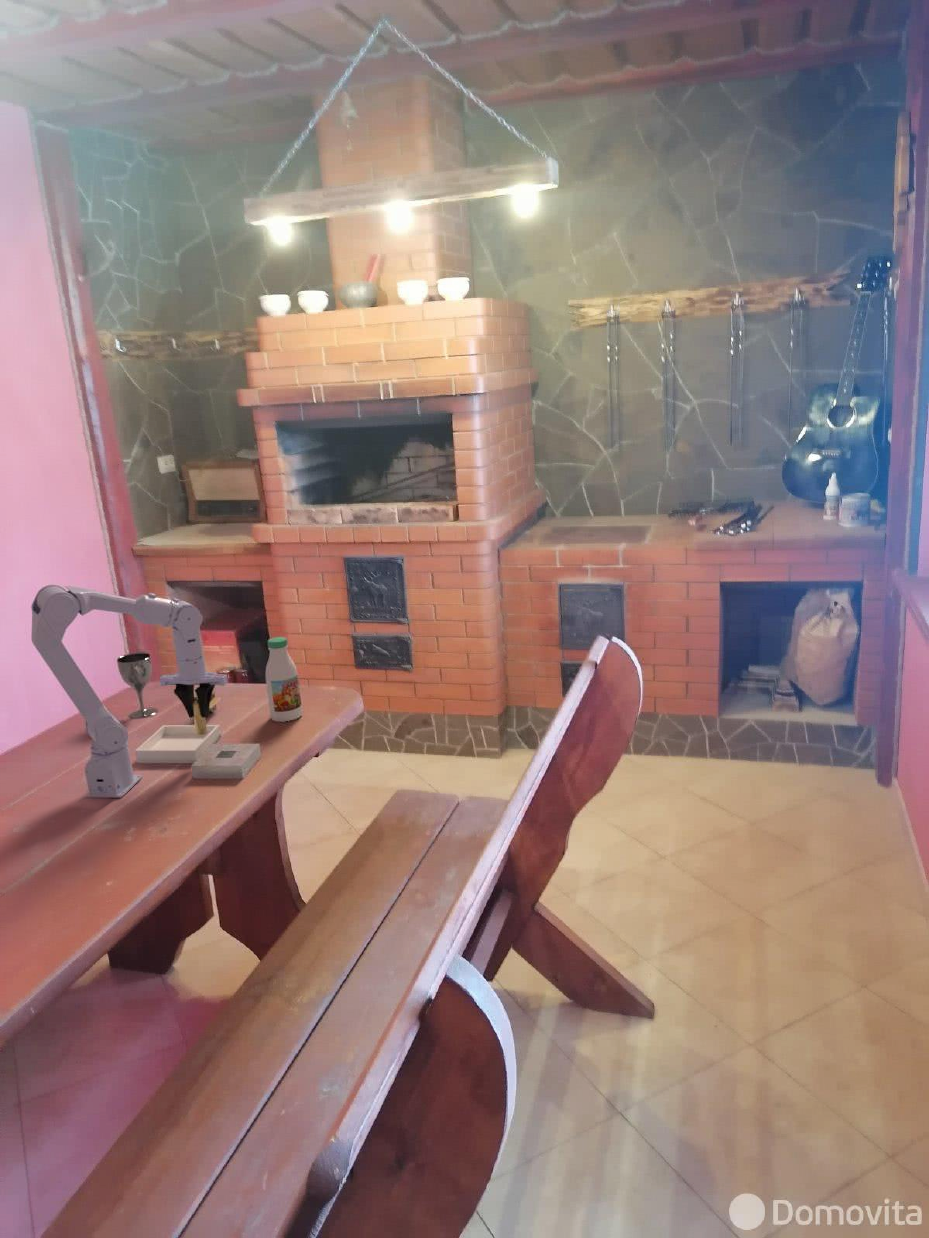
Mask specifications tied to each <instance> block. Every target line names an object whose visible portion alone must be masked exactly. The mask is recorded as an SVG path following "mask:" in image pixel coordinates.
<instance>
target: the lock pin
mask: <svg viewBox="0 0 929 1238" xmlns="http://www.w3.org/2000/svg"><path fill="white" fill-rule="evenodd" d="M191 704H192V711H193V717H192V718H193V723H194V724H193V725H195V730H196V734H197V735H203V734H206V733H207V726H206V725H207V720H206V717H205V718H202V715H201V710H200V704H199V700H198V697H197V696H194V698H192V699H191Z"/></svg>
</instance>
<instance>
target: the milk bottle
mask: <svg viewBox="0 0 929 1238" xmlns="http://www.w3.org/2000/svg"><path fill="white" fill-rule="evenodd" d="M267 647H268V648H267V649H268V650H269V657H268V660H267V663H266V666H265V667H266V668H265V684H266V691H267V692H266V693H267V701H268V709H269V714H270V718H271V720H272V721H273V722H276V723H277V722H278V723H286V721H288V722H291V721H290V720H292V721H295V720H297V718H298V719H300V718H301V717H302V715H303V707H302V699H301V698H302V697H301V690H300V683H299V675H298V670H297V669H298V668H297V666H296V664H295V662H294V660H293V659H292V657H291V656H290V653H289V652H288V651H289V650H288V639H287V637H285V636H276V637H272V638H269V639H268V640H267ZM300 716H301V717H300ZM294 719H295V720H294Z"/></svg>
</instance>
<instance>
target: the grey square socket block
mask: <svg viewBox="0 0 929 1238" xmlns="http://www.w3.org/2000/svg"><path fill="white" fill-rule="evenodd" d="M260 745H261V744H260V743H215V744H211V745H210V747H209V748H208V749H207V750H206V751H205V752H204V753H203V754H202V755H201V756H200V757H199V758H198V759H197V760H196V761H195V762H194V763H191V772H192V773H191V774H192V777H193V779H194V780H195V779H199V780H201V779H203V780H205V779H206V780H207V779H210V780H213V779H214V780H215V779H216V780H218V779H220V780H221V779H222V780H223V779H225V780H226V779H227V780H228V779H233V780H239V779H240V780H243V779H244V778H245V777H246V776H247V775H246V774H248V773H249V772H250V771H251V770H250V769H252V768H253V767H254V766H255V765H256V764H257V762H258V761H259V759H260V758H261V757H262V753H261V746H260ZM260 756H261V757H260ZM257 760H258V761H257ZM254 764H255V765H254ZM249 770H250V771H249Z"/></svg>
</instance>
